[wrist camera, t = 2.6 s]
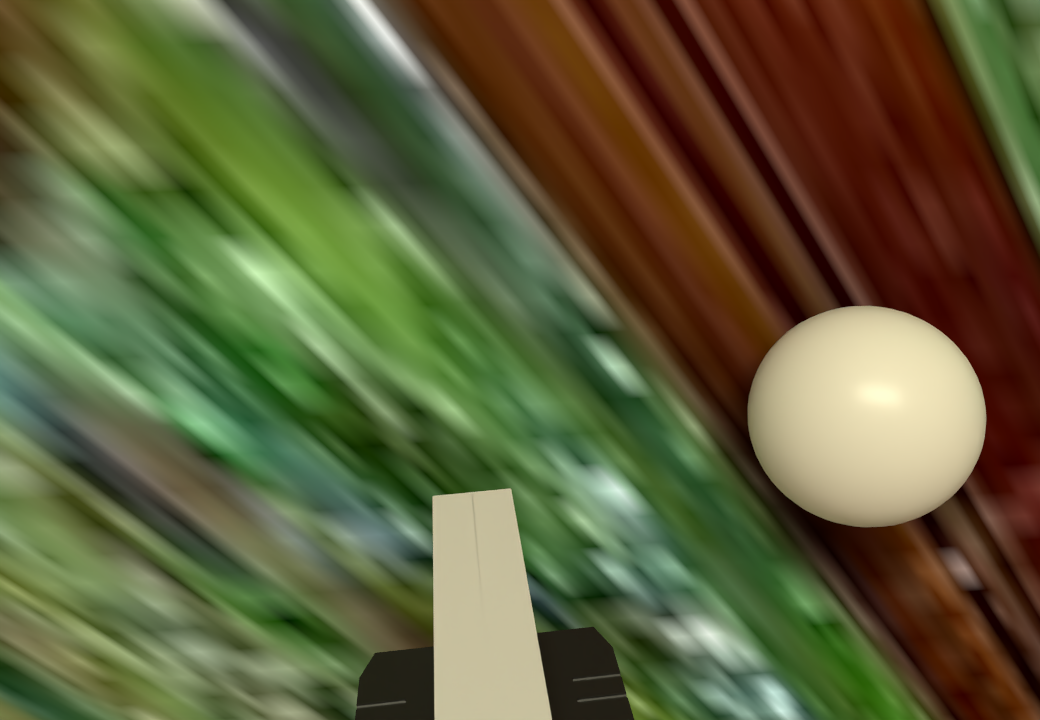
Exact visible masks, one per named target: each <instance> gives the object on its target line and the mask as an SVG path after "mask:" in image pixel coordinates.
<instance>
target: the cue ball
mask: <svg viewBox="0 0 1040 720" xmlns="http://www.w3.org/2000/svg"><path fill="white" fill-rule="evenodd" d="M748 428H749V434H750V438H751V442H752V445H753V448H754V451H755V454H756V456H757V458H758V460H759V462H760V464H761V466H762V468H763V469H764V471H765V473H766V474H767V476H768V477H769V478H770V480H771V481H772V482H773V483H774V484H775V486H776V487H777V488H778V489H779V490H780V491H781V492H782V493H783V494H784V495H785V496H786V497H788V498H789V499H790V500H792V501H793V502H794V503H796V504H797V505H799V506H800V507H801V508H803V509H804V510H806V511H808V512H810V513H812V514H814V515H816V516H818V517H821V518H823V519H826V520H829V521H832V522H835V523H840V524H845V525H849V526H856V527H884V526H891V525H897V524H900V523H904V522H908V521H910V520H913V519H916V518H918V517H921V516H923V515H925V514H927V513H929V512H931V511H932V510H934V509H936V508H937V507H939V506H940V505H942V504H943V503H944V502H946V501H947V500H948V499H949V498H950V497H952V496H953V495H954V494H955V493H956V492H957V491H958V490H959V488H960V487H961V486H962V485H963V484H964V482H965V481H966V480H967V478H968V477H969V475H970V474H971V472H972V470H973V468H974V466H975V464H976V462H977V460H978V458H979V455H980V453H981V450H982V446H983V442H984V438H985V428H986V408H985V402H984V397H983V393H982V388H981V386H980V383H979V380H978V378H977V376H976V374H975V372H974V370H973V368H972V366H971V365H970V363H969V361H968V359H967V358H966V357H965V356H964V354H963V353H962V352H961V351H960V349H959V348H958V347H957V346H956V345H955V344H954V342H952V341H951V340H950V339H949V338H948V337H947V336H946V335H945V334H943V333H942V332H941V331H939V330H938V329H937V328H935V327H934V326H932V325H930V324H929V323H927V322H926V321H923V320H921V319H919V318H917V317H915V316H912V315H910V314H908V313H905V312H901V311H897V310H894V309H889V308H884V307H876V306H851V307H844V308H838V309H834V310H830V311H826V312H824V313H821V314H818V315H816V316H813V317H811V318H809V319H807V320H805V321H803V322H801V323H800V324H798V325H796V326H795V327H794V328H792V329H791V330H789V331H788V332H787V333H786V334H785V335H783V336H782V337H781V338H780V339H779V340H778V341H777V342H776V343H775V344H774V345H773V346H772V348H771V349H770V350H769V352H768V353H767V354H766V356H765V357H764V359H763V360H762V362H761V364H760V366H759V368H758V370H757V372H756V375H755V377H754V380H753V382H752V386H751V389H750V393H749V399H748Z"/></svg>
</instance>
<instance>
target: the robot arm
mask: <svg viewBox="0 0 1040 720" xmlns="http://www.w3.org/2000/svg"><path fill="white" fill-rule="evenodd" d="M433 591H434V647H425V648H416V649H407V650H398V651H389V652H380V653H375V654H374V656H373V657H372V659H371V660H370V662H369V664H368V665H367V667H366V668H365V670H364V672H363V673H362V675H361V676H360V678H359V688H358V697H357V710H356V716H355V720H634V718H633V714H632V711H631V708H630V704H629V701H628V698H627V697H626V691H625V687H624V684H623V681H622V677H621V676H620V671H619V667H618V664H617V660H616V657H615V654H614V650H613V647H612V646H611V645H610V644H609V643H608V642H607V641H606V640H605V639H604V638H603V636H602V635H601V634H600V633H599V632H598V631H597V630H596V629H595V628H594V627H588V628H579V629H570V630H561V631H552V632H542V633H537V632H536V626H535V621H534V615H533V610H532V604H531V598H530V593H529V587H528V582H527V576H526V570H525V565H524V559H523V554H522V548H521V542H520V537H519V531H518V525H517V520H516V514H515V509H514V503H513V497H512V492H511V489H501V490H491V491H481V492H470V493H460V494H450V495H439V496H433Z"/></svg>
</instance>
